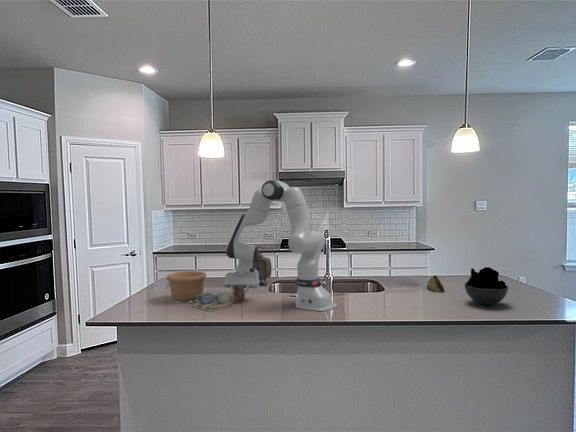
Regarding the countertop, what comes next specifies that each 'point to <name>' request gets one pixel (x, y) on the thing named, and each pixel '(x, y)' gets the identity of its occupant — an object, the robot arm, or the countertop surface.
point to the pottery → (186, 285)
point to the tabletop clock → (263, 267)
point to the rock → (435, 284)
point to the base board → (211, 306)
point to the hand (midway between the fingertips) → (238, 293)
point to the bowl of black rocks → (486, 286)
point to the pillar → (238, 293)
